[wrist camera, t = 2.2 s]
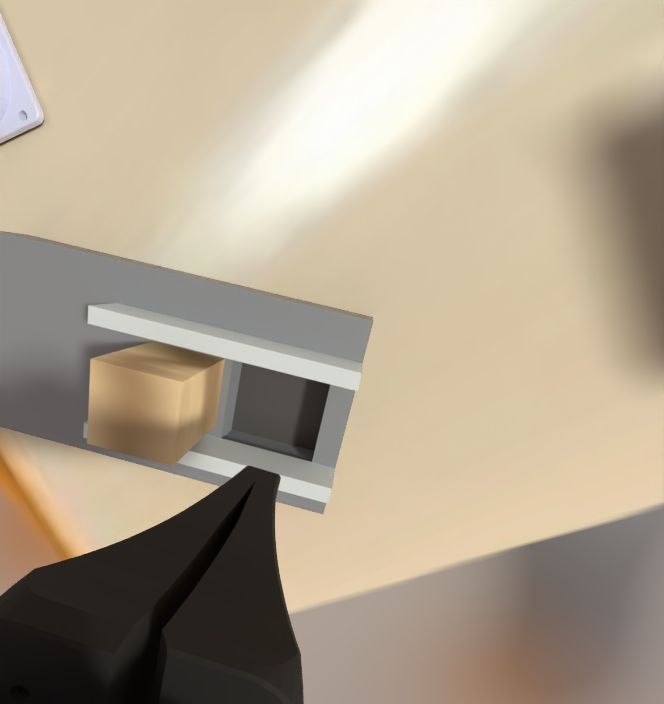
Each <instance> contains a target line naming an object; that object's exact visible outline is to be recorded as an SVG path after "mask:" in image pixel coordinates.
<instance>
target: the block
mask: <svg viewBox="0 0 664 704" xmlns="http://www.w3.org/2000/svg"><path fill="white" fill-rule="evenodd" d="M224 362H225V359H224V358H220V357H216V356H212V355H208V354H204V353H200V352H196V351H192V350H188V349H184V348H180V347H176V346H172V345H168V344H164V343H160V342H156V341H152V342H149V343H145V344H142V345H138V346H134V347H131V348H127V349H124V350H120V351H116V352H113V353H109V354H106V355H102V356H98V357H95V358H91V361H90V385H89V409H88V434H87V444H91V445H94V446H98V447H102V448H105V449H109V450H113V451H116V452H120V453H124V454H128V455H131V456H135V457H139V458H142V459H146V460H150V461H153V462H157V463H161V464H164V465H168V466H174V465H175V464H176V463H177V462H178V461H179V460H180V459H181V458H182V457H183V456H184V455H185V454H186V453H187V452H188V451H189V450H190V449H191V448H192V447H193V446H194V445H195V444H196V443H198V442H199V441H200V440H201V439H202V438H203V437H204V436H205V435H206V434H207V433H208V432H209V431H210V430H211V429H212V428H213V427H214V426H215V423H216V416H217V409H218V402H219V396H220V389H221V382H222V376H223V369H224Z"/></svg>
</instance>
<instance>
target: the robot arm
mask: <svg viewBox="0 0 664 704" xmlns="http://www.w3.org/2000/svg"><path fill="white" fill-rule="evenodd" d="M26 116H27V119H26ZM43 120H44V115H43V111H42V109H41V107H40V104H39V102H38V100H37V97H36V95H35V93H34V90H33V88H32V86H31V83H30V81H29V79H28V76H27V74H26V72H25V69H24V67H23V65H22V62H21V60H20V58H19V55H18V53H17V51H16V48H15V46H14V44H13V41H12V39H11V37H10V34H9V32H8V30H7V27H6V25H5V23H4V20H3V18H2V16H1V13H0V143H2V142H4V141H6V140H8V139H10V138H13V137H15V136H17V135H19V134H21V133H23V132H25V131H27V130H29V129H31V128H34V127H36V126H38V125H40V124H41V123H42V122H43ZM280 480H281V477H280V475H279V474H276V473H273V472H270V471H266V470H263V469H259V468H256V467H253V466H249V465H248V466H246V467H245V468H244V469H242V470H241V471H240V472H239V473H237V474H236V475H235V476H234V477H232V478H231V479H230V480H228V481H227V482H226V483H224V484H223V485H222V486H220V487H219V488H218V489H216V490H215V491H213V492H212V493H210V494H209V495H208V496H206V497H205V498H203V499H201V500H200V501H198V502H197V503H195V504H194V505H192V506H190V507H189V508H187V509H186V510H184V511H182V512H180V513H179V514H177V515H175V516H173V517H172V518H170V519H168V520H166V521H164V522H162V523H160V524H158V525H156V526H154V527H152V528H150V529H148V530H145V531H143V532H141V533H139V534H137V535H134V536H132V537H130V538H128V539H125V540H123V541H120V542H117V543H115V544H112V545H110V546H107V547H104V548H101V549H98V550H96V551H93V552H90V553H87V554H84V555H81V556H78V557H74V558H71V559H67V560H64V561H61V562H57V563H54V564H51V565H47V566H43V567H40V568H36V569H34V570H32V571H31V572H30V573H29V574H27V575H26V576H25V577H23V578H22V579H21V580H19V581H18V582H17V583H15V584H14V585H13V586H12V587H11V588H9V589H8V590H7V591H6V592H5V593H4V594H2V595H1V596H0V704H303V681H302V667H301V654H300V650H299V647H298V644H297V642H296V639H295V635H294V632H293V629H292V626H291V622H290V618H289V615H288V611H287V607H286V603H285V599H284V594H283V589H282V584H281V580H280V574H279V568H278V561H277V552H276V541H275V502H276V496H277V492H278V488H279V484H280Z"/></svg>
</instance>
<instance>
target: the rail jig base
mask: <svg viewBox="0 0 664 704" xmlns="http://www.w3.org/2000/svg"><path fill="white" fill-rule="evenodd" d="M372 324H373V318H372V317H369V316H365V315H361V314H357V313H353V312H348V311H344V310H340V309H336V308H332V307H327V306H323V305H319V304H315V303H311V302H307V301H302V300H298V299H294V298H290V297H286V296H281V295H277V294H273V293H269V292H265V291H260V290H256V289H252V288H248V287H244V286H240V285H235V284H231V283H227V282H223V281H219V280H214V279H210V278H206V277H202V276H198V275H193V274H189V273H185V272H181V271H177V270H173V269H168V268H164V267H160V266H156V265H152V264H147V263H143V262H139V261H135V260H131V259H126V258H122V257H118V256H114V255H110V254H106V253H101V252H97V251H93V250H89V249H85V248H80V247H76V246H72V245H68V244H64V243H60V242H55V241H51V240H47V239H43V238H39V237H34V236H30V235H24V234H17V233H10V232H3V231H0V427H4V428H8V429H11V430H15V431H19V432H22V433H26V434H30V435H33V436H37V437H41V438H44V439H48V440H52V441H55V442H59V443H63V444H66V445H70V446H74V447H78V448H81V449H85V450H89V451H92V452H96V453H100V454H103V455H107V456H111V457H114V458H118V459H122V460H125V461H129V462H133V463H136V464H140V465H144V466H147V467H151V468H155V469H158V470H162V471H166V472H169V473H173V474H177V475H180V476H184V477H188V478H192V479H195V480H199V481H203V482H206V483H210V484H214V485H217V486H222V485H223V484H224V483H226V482H227V481H228V480H230V479H231V478H232V477H234V476H235V475H236V474H237V473H239V472H240V471H241V470H242V469H244V468H245V467H246V466H248V465H249V466H253V467H256V468H259V469H263V470H266V471H270V472H273V473H276V474H279V475H280V477H281V480H280V484H279V488H278V492H277V496H276V502H280V503H283V504H287V505H291V506H295V507H298V508H302V509H306V510H309V511H313V512H317V513H320V514H323V512H324V509H325V505H326V503H328V501H329V497H330V494H331V490H332V484H333V478H334V471H335V466H336V463H337V459H338V455H339V451H340V447H341V443H342V439H343V436H344V432H345V428H346V424H347V420H348V416H349V413H350V409H351V405H352V401H353V397H354V393H355V391H358V387H359V383H360V379H361V375H362V363H363V359H364V355H365V351H366V347H367V343H368V340H369V336H370V332H371V328H372ZM152 341H156V342H160V343H164V344H168V345H172V346H176V347H180V348H184V349H188V350H192V351H196V352H200V353H204V354H208V355H212V356H216V357H220V358H224V359H225V362H224V369H223V376H222V382H221V389H220V396H219V402H218V409H217V416H216V423H215V426H214V427H213V428H212V429H211V430H210V431H209V432H208V433H207V434H206V435H205V436H204V437H203V438H202V439H201V440H200V441H199V442H198V443H196V444H195V445H194V446H193V447H192V448H191V449H190V450H189V451H188V452H187V453H186V454H185V455H184V456H183V457H182V458H181V459H180V460H179V461H178V462H177V463H176V464H175V465H174V466H168V465H164V464H161V463H157V462H153V461H150V460H146V459H142V458H139V457H135V456H131V455H128V454H124V453H120V452H116V451H113V450H109V449H105V448H102V447H98V446H94V445H91V444H87V434H88V409H89V385H90V361H91V358H95V357H98V356H102V355H106V354H109V353H113V352H116V351H120V350H124V349H127V348H131V347H134V346H138V345H142V344H145V343H149V342H152Z"/></svg>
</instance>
